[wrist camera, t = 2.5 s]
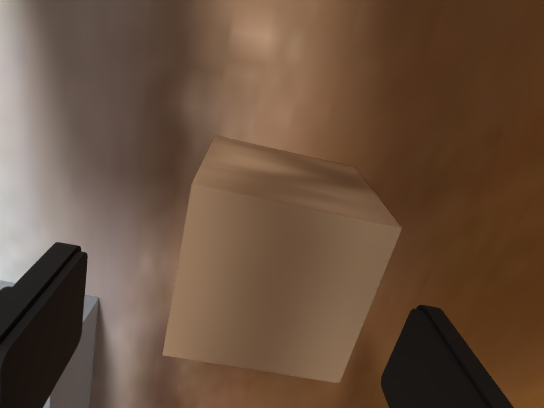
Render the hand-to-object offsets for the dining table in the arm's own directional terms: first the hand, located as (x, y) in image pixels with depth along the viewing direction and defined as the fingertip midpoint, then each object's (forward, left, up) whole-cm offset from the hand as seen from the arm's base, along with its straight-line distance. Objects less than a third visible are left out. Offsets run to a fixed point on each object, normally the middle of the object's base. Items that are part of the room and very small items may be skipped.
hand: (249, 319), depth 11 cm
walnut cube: (-1, 0, -7) cm, 7 cm away
